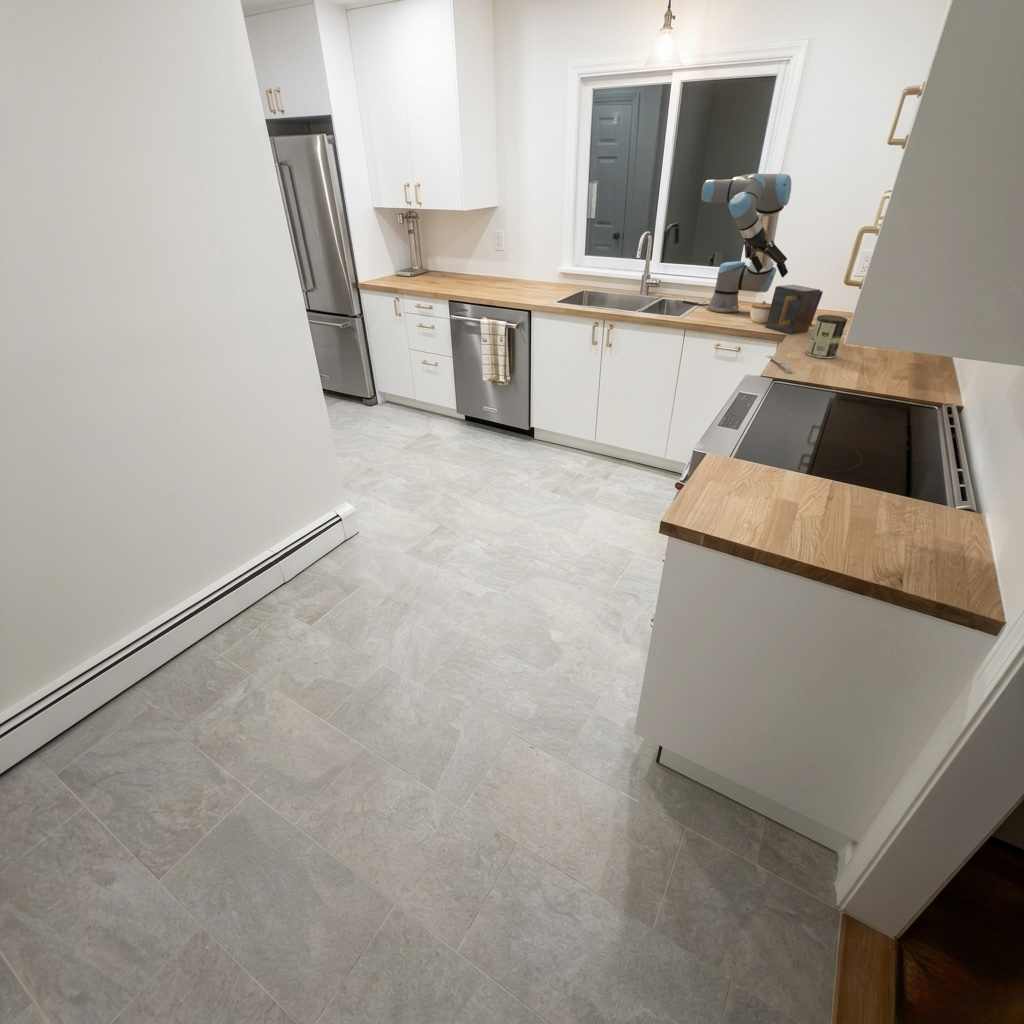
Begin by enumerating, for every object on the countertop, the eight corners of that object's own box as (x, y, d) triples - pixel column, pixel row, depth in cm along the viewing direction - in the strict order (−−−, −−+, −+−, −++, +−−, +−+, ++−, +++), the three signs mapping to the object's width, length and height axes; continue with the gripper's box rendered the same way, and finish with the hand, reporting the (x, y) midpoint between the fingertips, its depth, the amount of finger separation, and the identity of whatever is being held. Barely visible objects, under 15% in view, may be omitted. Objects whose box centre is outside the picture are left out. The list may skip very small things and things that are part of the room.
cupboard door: (781, 335, 235) (793, 292, 226) (756, 328, 246) (766, 287, 236) (792, 333, 238) (804, 291, 228) (766, 327, 248) (777, 286, 239)
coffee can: (830, 352, 213) (842, 315, 206) (838, 359, 205) (851, 321, 197) (803, 350, 215) (814, 314, 208) (809, 357, 206) (821, 319, 199)
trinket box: (773, 324, 253) (778, 303, 248) (749, 323, 255) (754, 302, 250) (768, 319, 262) (774, 299, 257) (745, 318, 264) (750, 298, 259)
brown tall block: (808, 326, 251) (818, 292, 243) (794, 324, 255) (804, 290, 247) (815, 324, 254) (825, 291, 246) (801, 322, 259) (811, 289, 251)
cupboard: (792, 334, 238) (804, 291, 228) (767, 327, 249) (777, 285, 239) (807, 332, 242) (820, 289, 232) (782, 325, 252) (793, 284, 243)
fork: (770, 362, 208) (771, 355, 207) (793, 373, 189) (795, 365, 188) (762, 362, 208) (764, 355, 207) (785, 373, 189) (787, 365, 188)
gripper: (784, 226, 197) (803, 269, 209) (737, 221, 216) (757, 261, 229) (769, 242, 198) (788, 284, 211) (724, 236, 218) (744, 275, 230)
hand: (772, 272), depth 220 cm, fingers open, 13 cm apart
